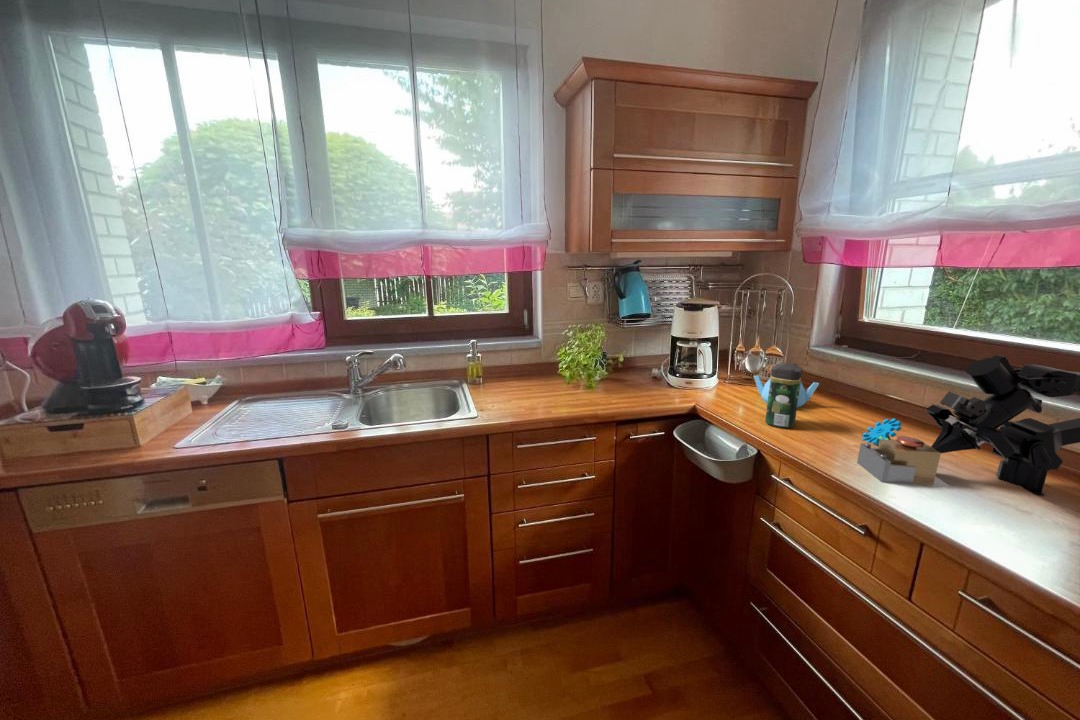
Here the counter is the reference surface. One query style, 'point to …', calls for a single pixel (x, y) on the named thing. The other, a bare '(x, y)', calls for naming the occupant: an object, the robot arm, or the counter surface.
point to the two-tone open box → (889, 468)
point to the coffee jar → (783, 395)
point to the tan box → (912, 456)
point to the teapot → (803, 394)
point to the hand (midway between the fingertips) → (931, 452)
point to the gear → (882, 431)
